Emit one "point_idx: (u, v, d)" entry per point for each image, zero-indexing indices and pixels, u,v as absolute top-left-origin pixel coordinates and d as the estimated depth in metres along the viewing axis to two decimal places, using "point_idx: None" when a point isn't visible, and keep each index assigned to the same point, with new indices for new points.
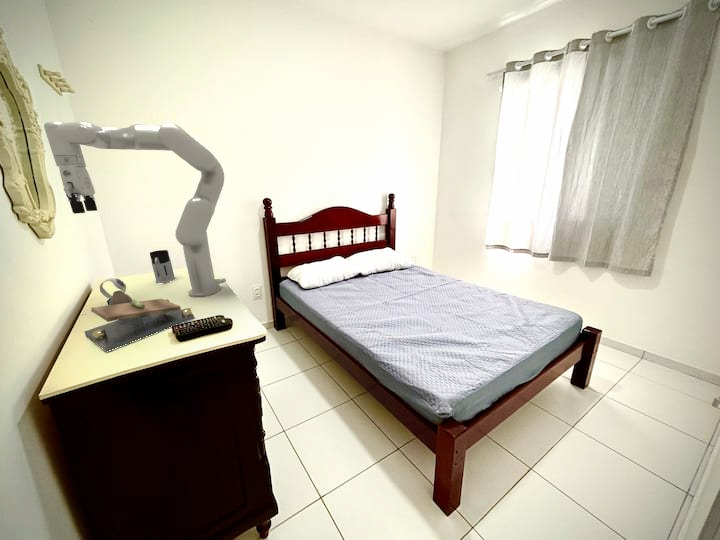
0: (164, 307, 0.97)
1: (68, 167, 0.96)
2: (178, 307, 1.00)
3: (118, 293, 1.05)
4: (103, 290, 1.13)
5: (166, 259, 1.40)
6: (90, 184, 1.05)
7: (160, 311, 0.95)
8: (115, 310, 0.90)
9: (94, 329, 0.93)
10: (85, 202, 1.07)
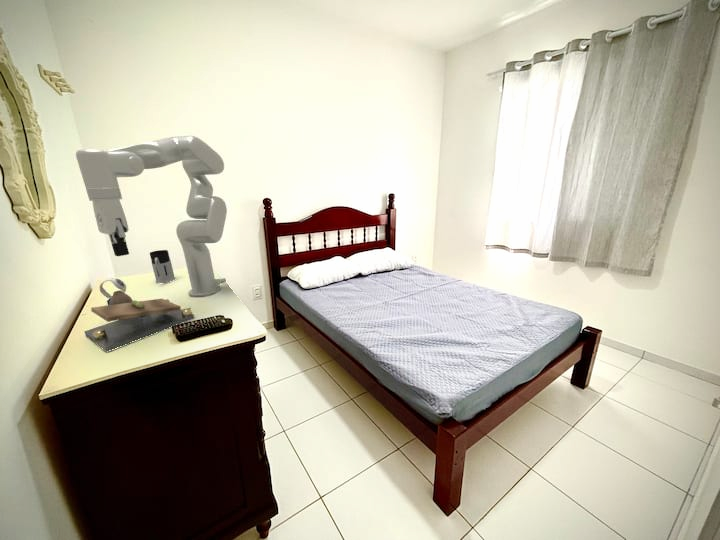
0: (164, 307, 0.97)
1: None
2: (178, 307, 1.00)
3: (118, 293, 1.05)
4: (103, 290, 1.13)
5: (166, 259, 1.40)
6: (103, 222, 0.83)
7: (160, 311, 0.95)
8: (115, 310, 0.90)
9: (94, 329, 0.93)
10: None
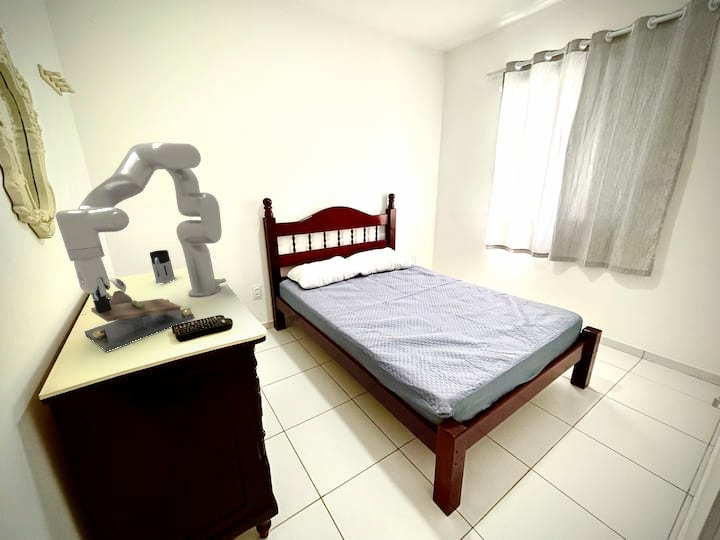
0: (164, 307, 0.97)
1: None
2: (178, 307, 1.00)
3: (118, 293, 1.05)
4: None
5: (166, 259, 1.40)
6: (84, 282, 0.82)
7: (160, 311, 0.95)
8: (115, 310, 0.90)
9: (94, 329, 0.93)
10: None
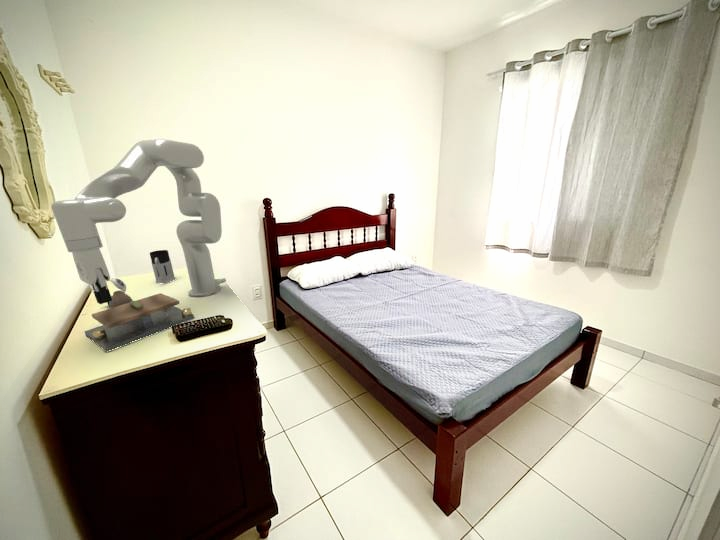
0: (163, 304, 0.97)
1: None
2: (177, 302, 0.99)
3: (118, 293, 1.05)
4: None
5: (166, 259, 1.40)
6: (83, 272, 0.81)
7: (159, 309, 0.95)
8: (115, 314, 0.90)
9: (94, 329, 0.93)
10: None
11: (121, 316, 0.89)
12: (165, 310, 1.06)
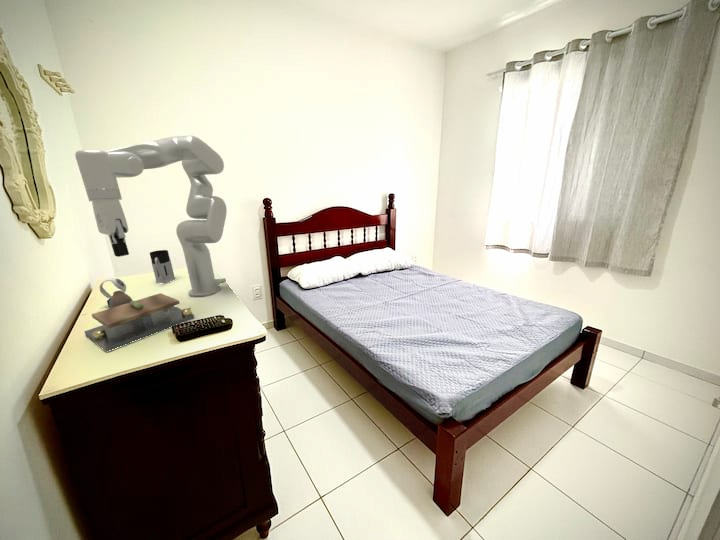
0: (163, 304, 0.97)
1: None
2: (177, 302, 0.99)
3: (118, 293, 1.05)
4: (103, 290, 1.13)
5: (166, 259, 1.40)
6: (103, 222, 0.83)
7: (159, 309, 0.95)
8: (115, 314, 0.90)
9: (94, 329, 0.93)
10: None
11: (121, 316, 0.89)
12: (165, 310, 1.06)
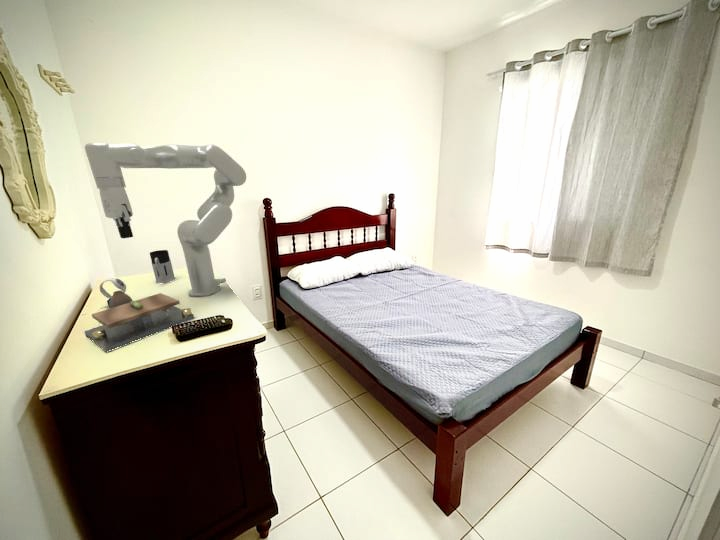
0: (163, 304, 0.97)
1: None
2: (177, 302, 0.99)
3: (118, 293, 1.05)
4: (103, 290, 1.13)
5: (166, 259, 1.40)
6: (111, 207, 0.95)
7: (159, 309, 0.95)
8: (115, 314, 0.90)
9: (94, 329, 0.93)
10: None
11: (121, 316, 0.89)
12: (165, 310, 1.06)
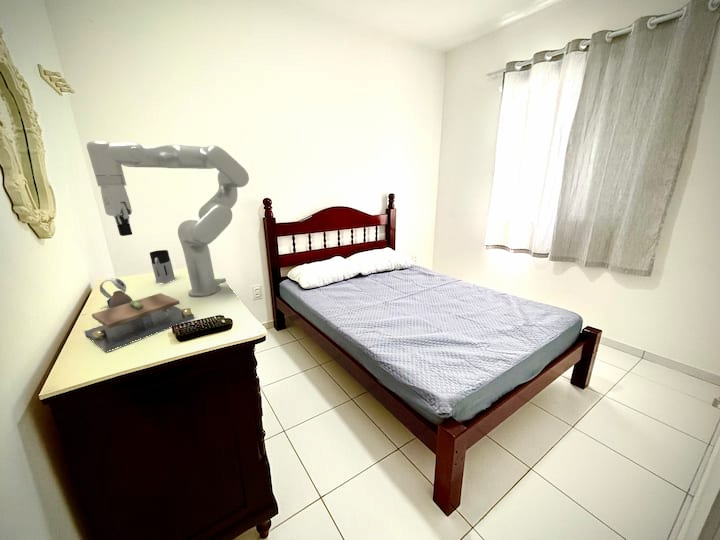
0: (163, 304, 0.97)
1: None
2: (177, 302, 0.99)
3: (118, 293, 1.05)
4: (103, 290, 1.13)
5: (166, 259, 1.40)
6: (110, 205, 0.96)
7: (159, 309, 0.95)
8: (115, 314, 0.90)
9: (94, 329, 0.93)
10: None
11: (121, 316, 0.89)
12: (165, 310, 1.06)
